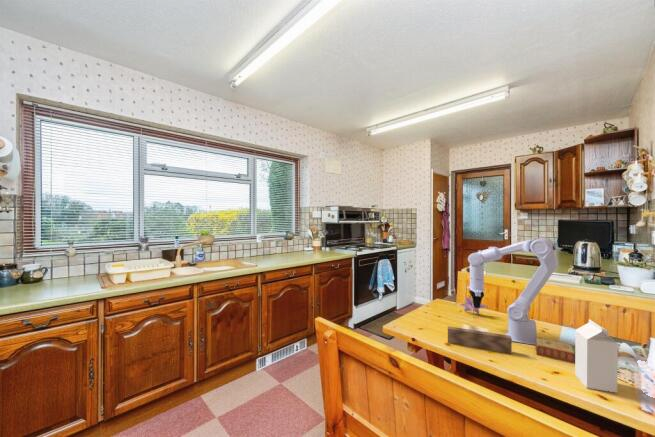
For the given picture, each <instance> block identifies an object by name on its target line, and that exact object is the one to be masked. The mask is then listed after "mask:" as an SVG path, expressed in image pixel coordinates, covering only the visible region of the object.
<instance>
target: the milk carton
mask: <svg viewBox="0 0 655 437" xmlns="http://www.w3.org/2000/svg"><path fill="white" fill-rule="evenodd" d="M574 332H575V334H574V337H575V338H574V339H575V341H574V342H575V345H574V346H575V364H574V366H575V368H574V375H575V376H576V378H577V379H578V380H579V381H580V382H581V383H582V384H583V386H584V387H585V388H586V389H591V390H596V391H597V390H598V391H603V392H608V391H609V392H610V393H614V392H615V393H616V394H617V393H618V368H619V367H618V362H619V360H618V356H619V355H618V349H619V347H618V346H619V345H618V342H617V341H616V340H614V339H613V338H612V337H610V336H609V335H610V334H611V332H610V331H609V330H607V329H606V328H605V327H602V326H600V325H599V324H598V323H596V322H595V321H593V320H591V319H590V318H589V319H588V322H587V323H585V324H583V325H582V326H580V327H578V328H576V329H575V330H574Z"/></svg>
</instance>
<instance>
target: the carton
mask: <svg viewBox="0 0 655 437" xmlns="http://www.w3.org/2000/svg"><path fill="white" fill-rule="evenodd" d="M535 352H536V353H535V354H536V355H537V356H538V357H543V358H548V359H551V360H556V361H559V362H565V363H568V364H572V365H575V345H572V344H568V343H563V342H559V341H554V340H550V339H545V338H541V337H537V338H536V345H535Z"/></svg>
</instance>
